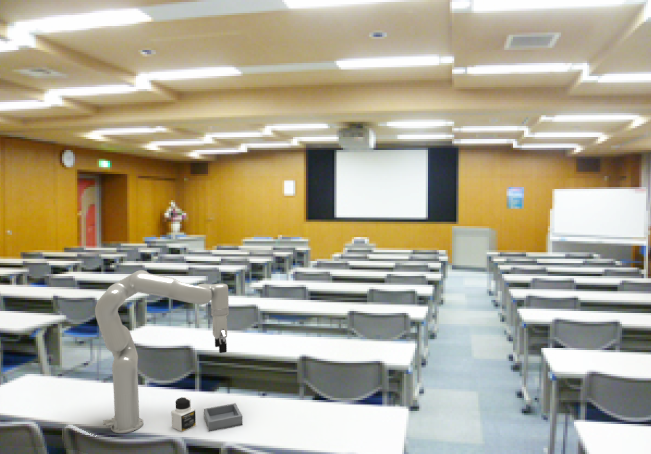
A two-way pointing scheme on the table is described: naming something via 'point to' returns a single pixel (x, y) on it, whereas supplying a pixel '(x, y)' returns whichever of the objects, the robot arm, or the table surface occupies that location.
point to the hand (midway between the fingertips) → (220, 349)
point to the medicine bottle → (183, 415)
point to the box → (222, 417)
